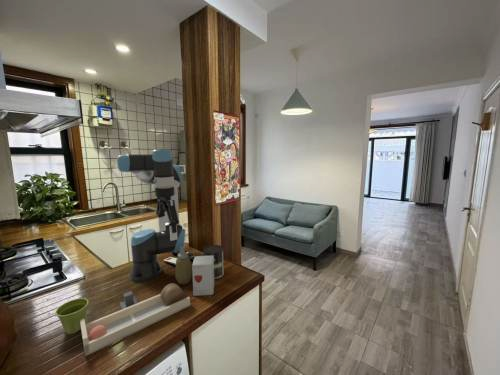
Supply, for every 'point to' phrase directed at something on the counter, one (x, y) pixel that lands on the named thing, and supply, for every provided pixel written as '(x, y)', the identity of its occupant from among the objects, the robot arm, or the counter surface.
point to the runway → (129, 321)
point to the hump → (172, 294)
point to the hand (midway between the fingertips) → (168, 235)
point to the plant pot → (72, 314)
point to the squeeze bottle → (183, 268)
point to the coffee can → (216, 259)
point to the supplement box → (203, 275)
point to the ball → (97, 332)
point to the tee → (128, 300)
